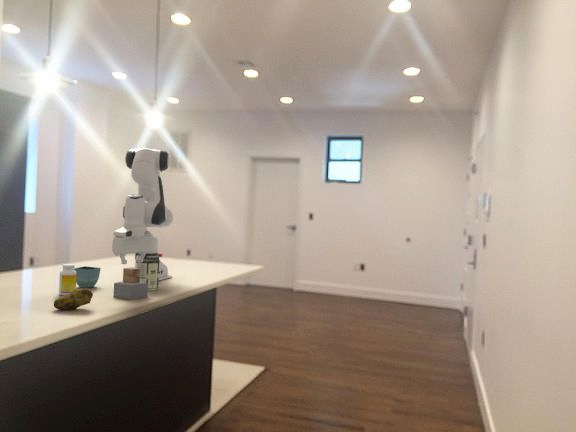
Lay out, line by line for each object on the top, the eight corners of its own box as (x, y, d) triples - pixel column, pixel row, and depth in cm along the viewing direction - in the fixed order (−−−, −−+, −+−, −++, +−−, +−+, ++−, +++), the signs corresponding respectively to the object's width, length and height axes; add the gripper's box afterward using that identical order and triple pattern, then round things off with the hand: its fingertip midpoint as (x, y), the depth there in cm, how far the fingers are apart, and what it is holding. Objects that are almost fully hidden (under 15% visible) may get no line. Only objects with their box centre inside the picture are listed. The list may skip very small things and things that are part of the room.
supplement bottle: (78, 295, 211) (79, 265, 211) (62, 296, 207) (63, 266, 206) (71, 292, 216) (73, 263, 216) (56, 293, 211) (57, 264, 211)
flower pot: (89, 289, 227) (90, 269, 227) (72, 287, 228) (73, 268, 228) (100, 286, 235) (101, 267, 235) (83, 284, 237) (84, 266, 237)
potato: (58, 306, 187) (59, 285, 187) (93, 307, 189) (94, 286, 189) (51, 311, 179) (52, 289, 179) (88, 312, 181) (89, 290, 181)
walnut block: (131, 280, 217) (132, 267, 217) (139, 282, 215) (140, 268, 215) (122, 281, 213) (123, 268, 213) (131, 283, 210) (131, 269, 210)
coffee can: (144, 286, 241) (145, 257, 241) (162, 288, 238) (163, 259, 238) (131, 289, 232) (132, 259, 231) (149, 291, 228) (151, 261, 228)
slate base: (130, 293, 221) (131, 279, 221) (147, 296, 216) (148, 282, 216) (113, 296, 212) (114, 281, 212) (130, 299, 207) (130, 284, 207)
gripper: (146, 230, 224) (144, 260, 225) (110, 231, 206) (108, 264, 207) (156, 231, 221) (154, 261, 222) (121, 233, 203) (119, 266, 204)
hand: (132, 263), depth 214 cm, fingers open, 8 cm apart
